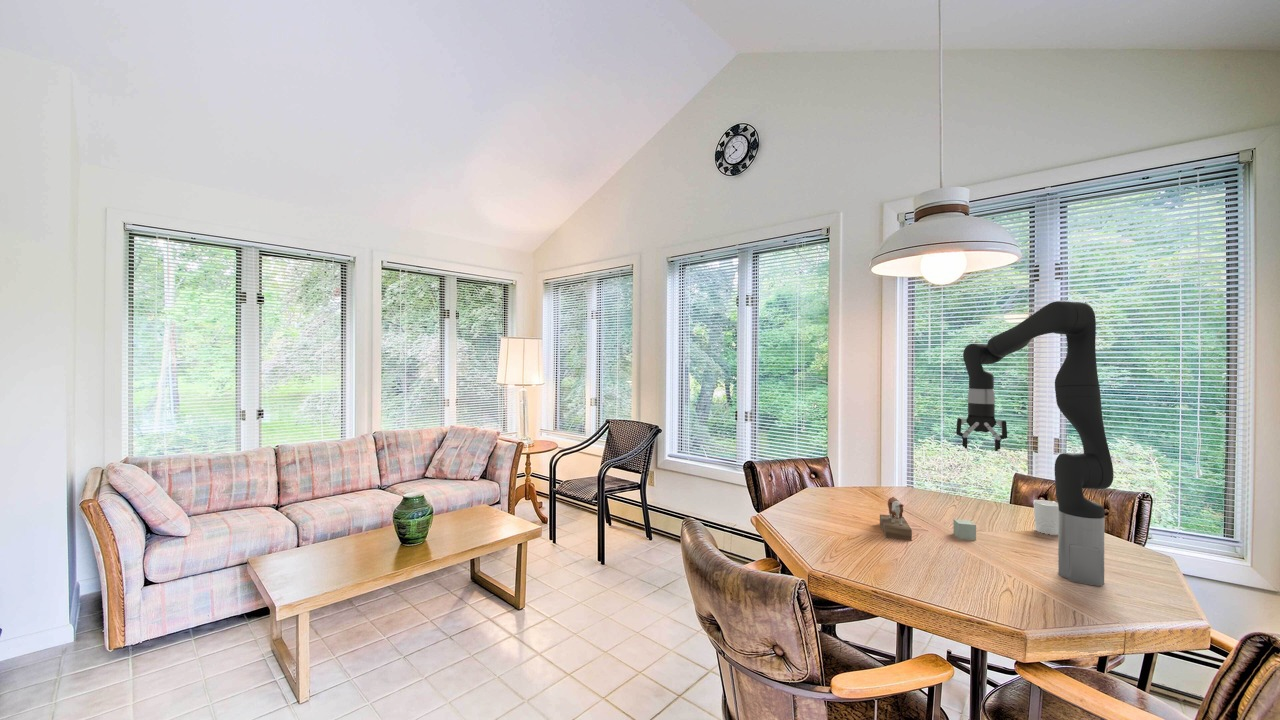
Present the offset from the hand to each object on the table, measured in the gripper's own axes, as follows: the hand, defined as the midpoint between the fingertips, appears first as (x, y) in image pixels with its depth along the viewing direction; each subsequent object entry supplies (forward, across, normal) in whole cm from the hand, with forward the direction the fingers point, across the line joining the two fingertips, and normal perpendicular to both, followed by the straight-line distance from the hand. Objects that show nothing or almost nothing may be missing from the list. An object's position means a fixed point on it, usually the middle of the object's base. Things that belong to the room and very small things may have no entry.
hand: (981, 449), depth 169 cm
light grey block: (+28, +20, +13) cm, 37 cm away
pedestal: (+29, -25, -15) cm, 41 cm away
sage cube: (+28, -5, -8) cm, 30 cm away
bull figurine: (+25, -25, -16) cm, 39 cm away
